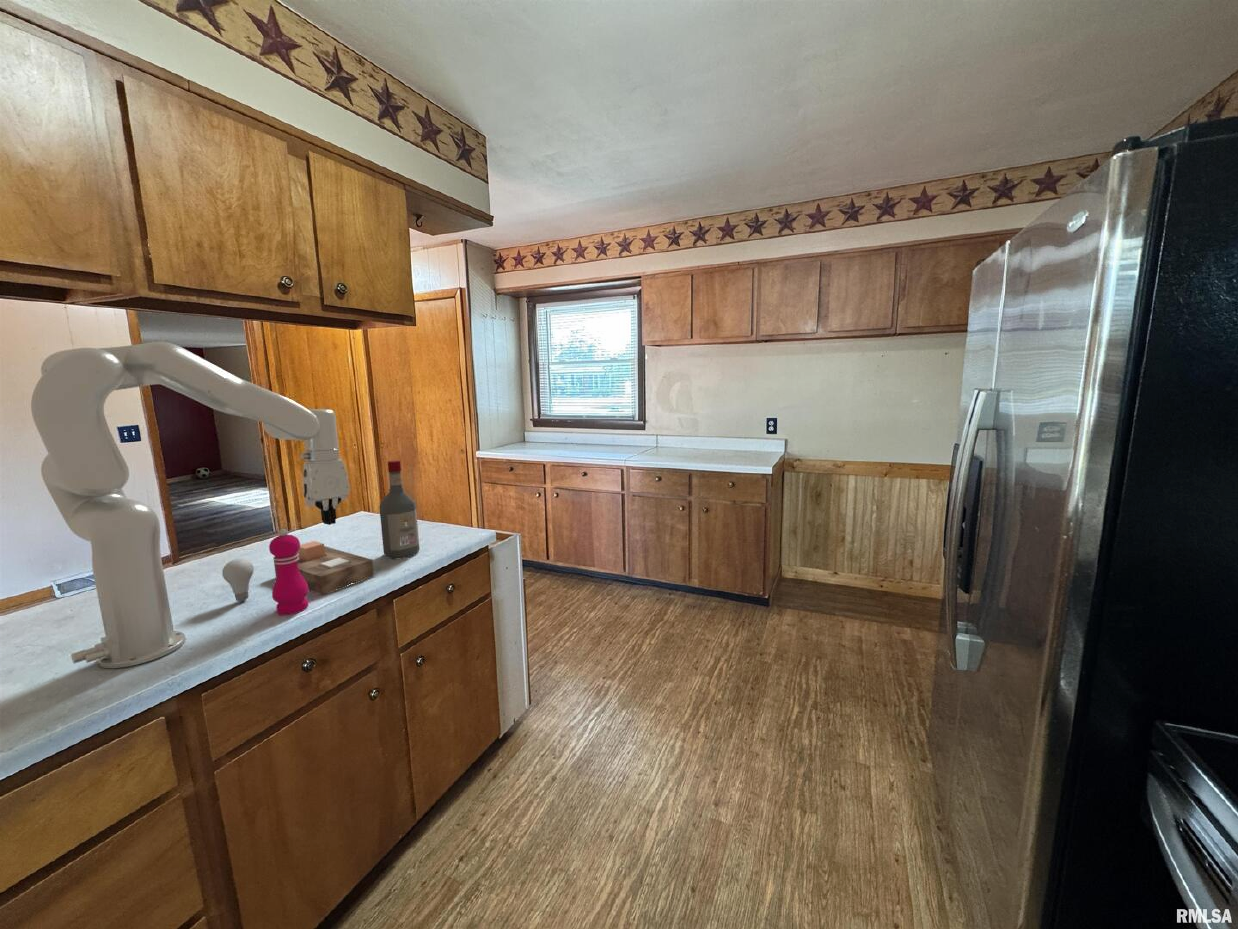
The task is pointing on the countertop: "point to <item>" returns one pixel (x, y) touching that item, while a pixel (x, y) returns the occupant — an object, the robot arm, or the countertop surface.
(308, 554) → the orange cube
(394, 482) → the liquor
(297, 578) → the pepper mill
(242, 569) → the lightbulb
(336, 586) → the block
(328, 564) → the white cube
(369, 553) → the countertop surface
